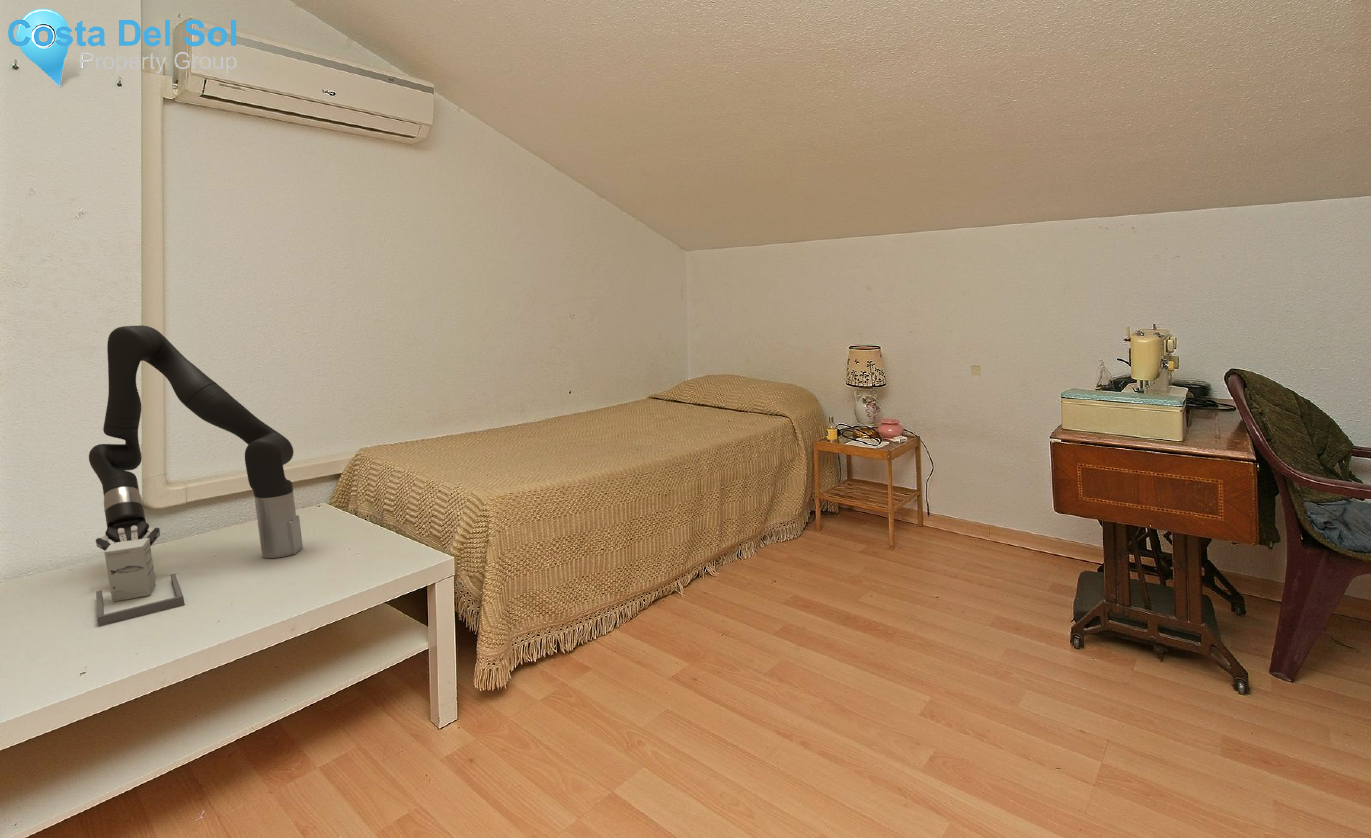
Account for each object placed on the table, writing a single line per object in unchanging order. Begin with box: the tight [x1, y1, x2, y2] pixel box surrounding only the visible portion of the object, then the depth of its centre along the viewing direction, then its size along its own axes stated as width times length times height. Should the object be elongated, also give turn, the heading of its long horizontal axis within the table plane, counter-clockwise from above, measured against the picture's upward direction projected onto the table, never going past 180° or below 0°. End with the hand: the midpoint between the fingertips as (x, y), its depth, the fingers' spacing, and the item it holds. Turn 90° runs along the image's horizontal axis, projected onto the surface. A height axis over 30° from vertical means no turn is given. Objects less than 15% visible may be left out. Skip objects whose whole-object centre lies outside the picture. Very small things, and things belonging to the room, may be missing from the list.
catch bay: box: [95, 573, 185, 627], centre depth 154 cm, size 18×15×2 cm
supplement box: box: [104, 537, 157, 603], centre depth 158 cm, size 7×7×13 cm
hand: (133, 567), depth 161 cm, fingers closed
